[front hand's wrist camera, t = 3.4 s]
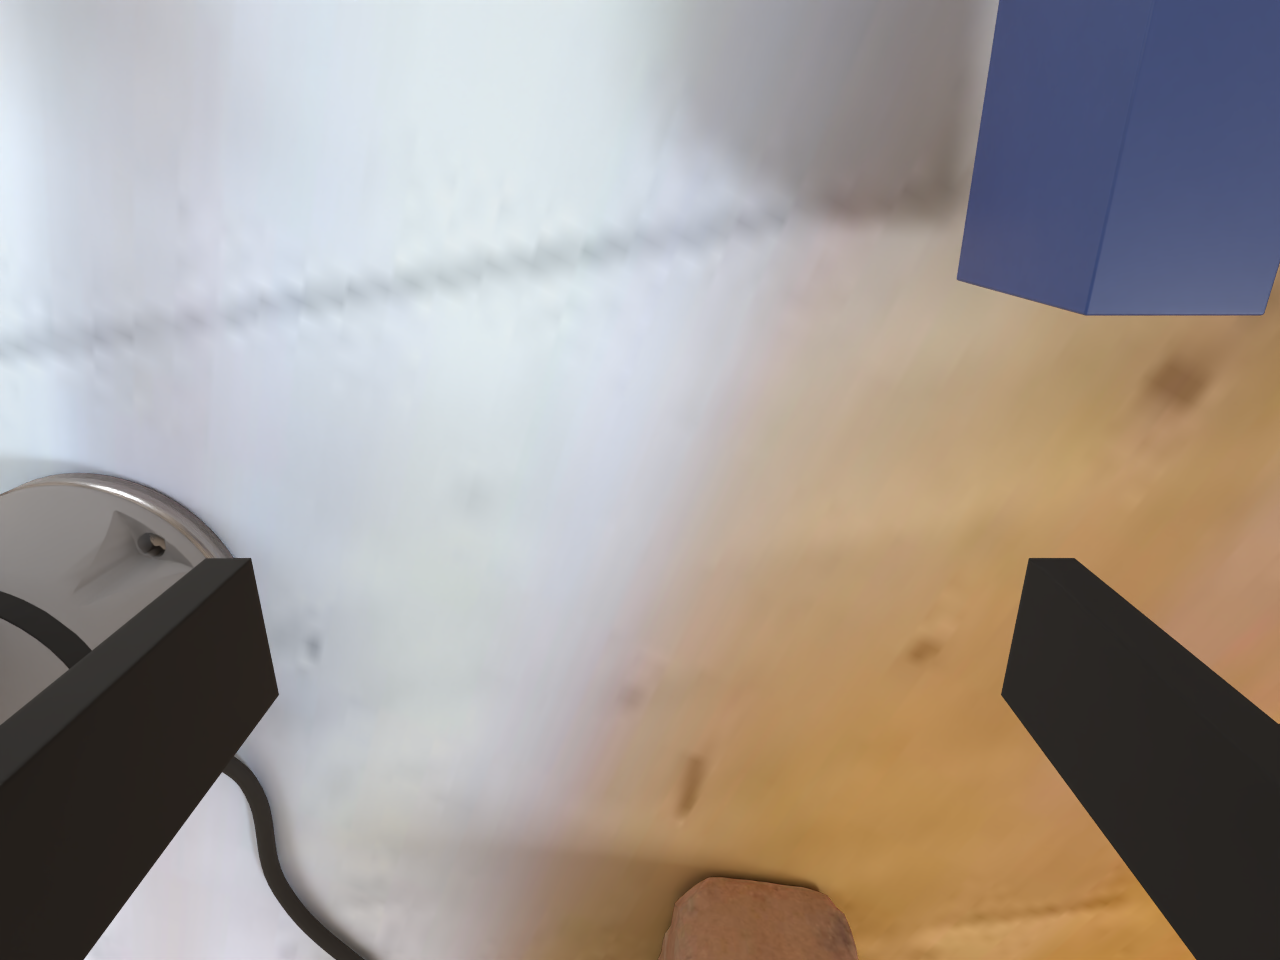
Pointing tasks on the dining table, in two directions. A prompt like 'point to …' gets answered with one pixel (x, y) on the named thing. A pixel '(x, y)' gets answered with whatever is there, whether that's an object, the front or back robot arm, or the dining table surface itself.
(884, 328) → the dining table surface
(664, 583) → the dining table surface
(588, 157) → the dining table surface
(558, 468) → the dining table surface
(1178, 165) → the bar
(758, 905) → the stone
